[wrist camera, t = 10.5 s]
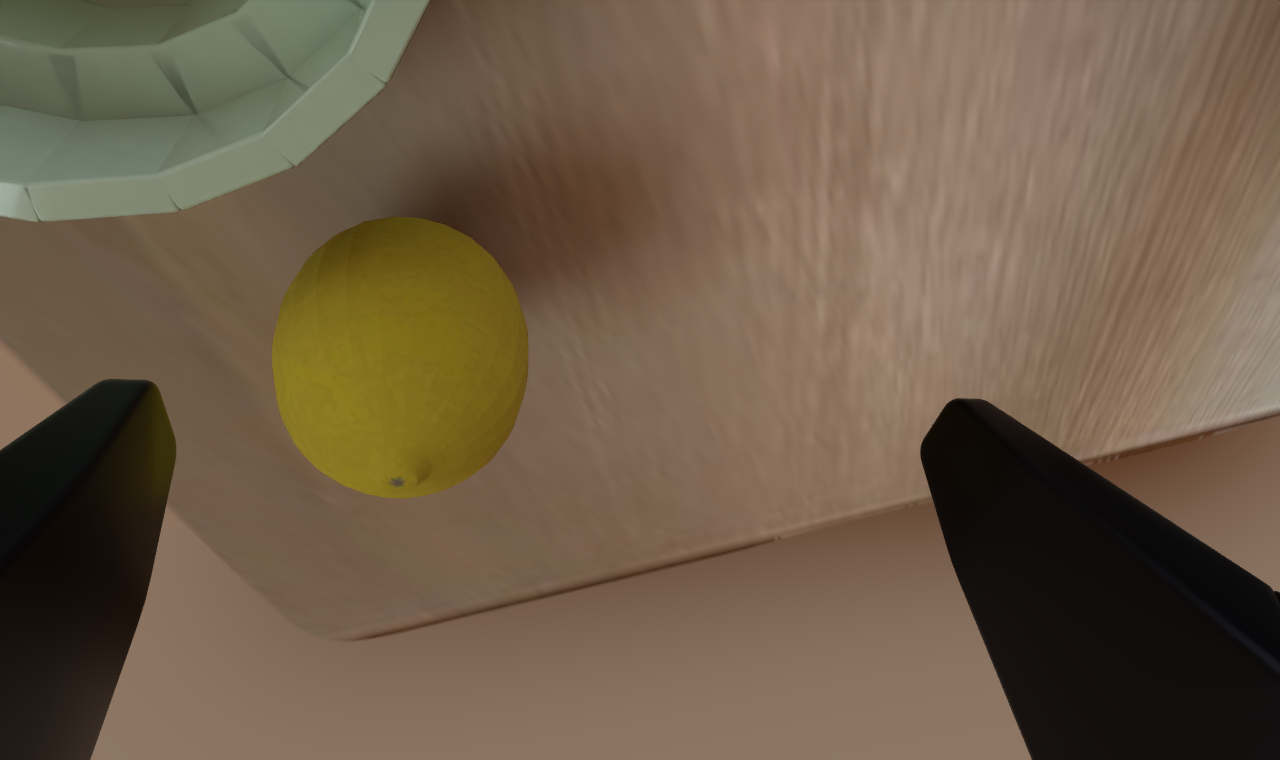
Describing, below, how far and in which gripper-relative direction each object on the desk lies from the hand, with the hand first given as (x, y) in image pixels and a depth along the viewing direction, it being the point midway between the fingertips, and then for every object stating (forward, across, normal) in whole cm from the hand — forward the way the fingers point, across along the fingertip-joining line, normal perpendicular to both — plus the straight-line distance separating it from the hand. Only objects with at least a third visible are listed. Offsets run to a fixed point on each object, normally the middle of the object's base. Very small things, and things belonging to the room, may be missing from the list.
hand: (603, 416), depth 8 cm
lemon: (+12, +3, +6) cm, 13 cm away
